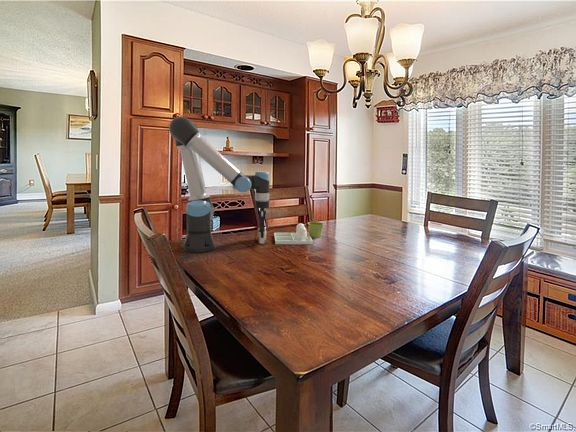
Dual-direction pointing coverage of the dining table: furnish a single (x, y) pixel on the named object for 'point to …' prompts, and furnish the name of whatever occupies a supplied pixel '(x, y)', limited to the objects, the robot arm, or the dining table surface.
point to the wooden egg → (259, 234)
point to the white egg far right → (302, 234)
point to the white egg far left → (298, 228)
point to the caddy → (290, 239)
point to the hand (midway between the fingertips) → (262, 241)
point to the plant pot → (315, 229)
